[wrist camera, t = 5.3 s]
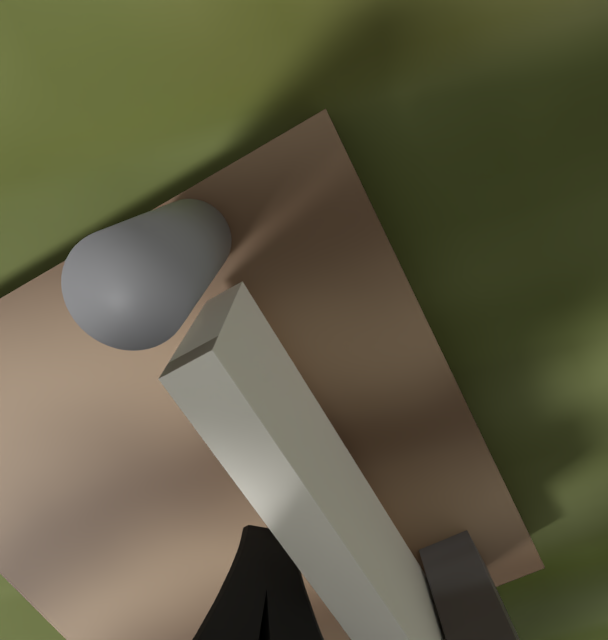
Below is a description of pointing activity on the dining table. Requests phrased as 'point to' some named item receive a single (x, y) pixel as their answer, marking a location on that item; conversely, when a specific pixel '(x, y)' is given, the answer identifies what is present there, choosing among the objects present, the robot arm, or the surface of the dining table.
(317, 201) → the board
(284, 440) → the white bar
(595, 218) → the dining table surface
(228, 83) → the dining table surface
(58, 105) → the dining table surface
